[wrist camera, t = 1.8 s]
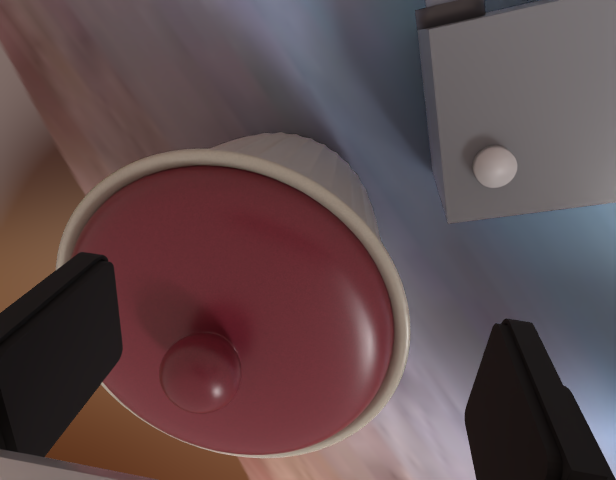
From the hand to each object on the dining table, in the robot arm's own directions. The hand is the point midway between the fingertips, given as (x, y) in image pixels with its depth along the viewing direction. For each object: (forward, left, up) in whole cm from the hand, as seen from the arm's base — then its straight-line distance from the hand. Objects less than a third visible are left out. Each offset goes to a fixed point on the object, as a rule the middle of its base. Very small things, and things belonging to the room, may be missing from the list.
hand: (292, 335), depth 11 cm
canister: (+7, +6, -26) cm, 27 cm away
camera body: (-12, -1, -25) cm, 28 cm away
